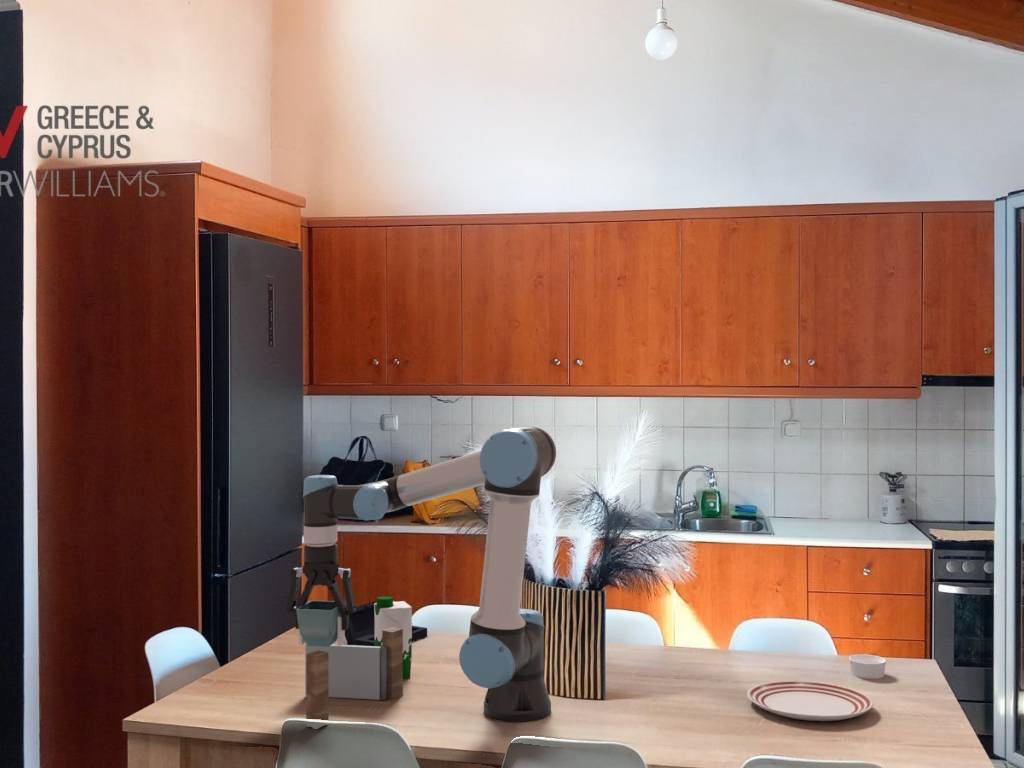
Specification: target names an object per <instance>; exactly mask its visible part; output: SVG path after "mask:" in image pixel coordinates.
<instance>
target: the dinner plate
mask: <svg viewBox="0 0 1024 768" xmlns="http://www.w3.org/2000/svg"><path fill="white" fill-rule="evenodd" d="M746 694H747V698H748V699H749V701H750V702H752V703H753V704H755V705H756V706H757V707H759V708H761V709H763V710H766V711H768V712H770V713H773V714H775V715H778V716H781V717H785V718H790V719H794V720H802V721H808V722H834V721H841V720H847V719H852V718H856V717H859V716H861V715H863V714H865V713H867V712H868V711H870V710H871V709H872V707H873V706H874V701H873V699H872V698H871V697H870V696H868V695H867V694H865V693H864V692H862V691H859V690H857V689H854V688H851V687H848V686H843V685H838V684H835V683H827V682H821V681H814V680H813V681H812V680H778V681H776V680H775V681H769V682H764V683H759V684H757V685H755V686H752V687H751V688H749V689H748V690H747V693H746Z"/></svg>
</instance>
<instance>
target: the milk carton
mask: <svg viewBox="0 0 1024 768" xmlns="http://www.w3.org/2000/svg"><path fill="white" fill-rule="evenodd" d="M376 601H377V603H374V615H375V646H378V647H382V630H385V629H389V628H392V627H395V628H401V629H403V680H405V679H406V680H407V679H411V672H412V671H411V670H412V659H413V658H412V655H413V652H412V651H413V650H412V648H413V646H412V645H413V644H412V643H413V642H412V626H413V622H412V620H413V619H412V618H413V615H412V612H413V610H412V609H413V607H412V606H411V605H410V604H408V603H407V602H406V601H405V600H404V601H403V600H401V601H395V600H394V597H393V596H390V595H382V596H377V597H376Z"/></svg>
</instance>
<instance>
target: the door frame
mask: <svg viewBox="0 0 1024 768" xmlns="http://www.w3.org/2000/svg"><path fill="white" fill-rule="evenodd" d="M382 647H387V699H386V700H390V701H394V700H396V699H398V698H400V697H403V695H404V694H403V693H404V692H403V691H404V690H403V689H404V688H403V686H404V684H403V681H404V679H403V629H401V628H395V627H392V628H389V629H385V630H382ZM329 698H330V697H329V652H325V651H320V650H318V651H314V652H311V653H308V654H306V696H305V699H306V700H305V701H306V702H305V703H306V705H305V706H306V709H305V710H306V711H305V712H306V715H305V716H306V717H305V718H306V719H321V720H329V719H330V718H329V717H330V716H329V715H330V714H329V712H330V711H329Z"/></svg>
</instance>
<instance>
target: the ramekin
mask: <svg viewBox="0 0 1024 768" xmlns="http://www.w3.org/2000/svg"><path fill="white" fill-rule="evenodd" d="M848 660H849V665H850V667H849V668H850V674H851V675H852V676H855V677H857V678H859V679H860V678H861V679H870V680H871V679H872V680H876V679H877V680H878V679H882V678H884V677H885V669H886V665H887V660H886V658H884V657H881V656H880V655H879V656H878V655H874V654H864V653H863V654H851V655H850V656H849V657H848Z"/></svg>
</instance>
